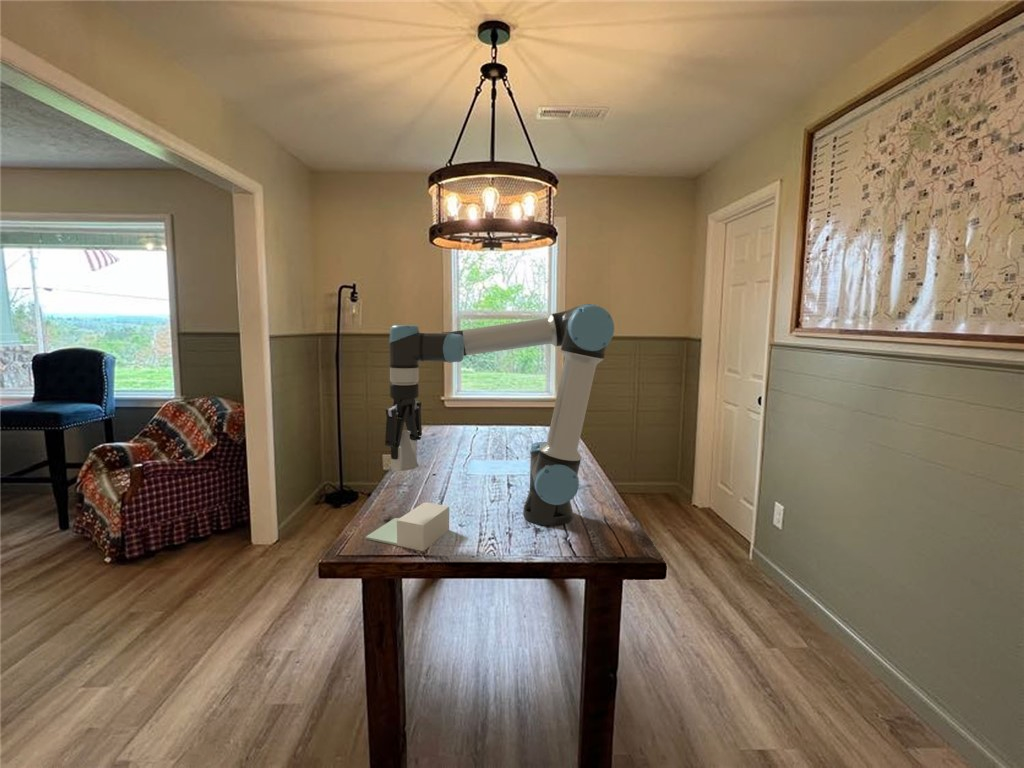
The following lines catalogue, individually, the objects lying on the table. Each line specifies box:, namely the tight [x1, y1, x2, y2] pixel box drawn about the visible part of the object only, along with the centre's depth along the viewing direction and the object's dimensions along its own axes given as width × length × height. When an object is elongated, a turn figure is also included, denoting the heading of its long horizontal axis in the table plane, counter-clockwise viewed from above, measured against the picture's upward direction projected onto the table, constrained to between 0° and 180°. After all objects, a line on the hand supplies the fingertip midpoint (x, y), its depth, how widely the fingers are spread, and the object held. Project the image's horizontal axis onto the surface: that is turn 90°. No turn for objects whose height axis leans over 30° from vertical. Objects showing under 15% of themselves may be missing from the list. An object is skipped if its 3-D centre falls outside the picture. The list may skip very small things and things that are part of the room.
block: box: [396, 501, 450, 552], centre depth 132 cm, size 8×14×7 cm, turn 159°
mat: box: [365, 517, 400, 546], centre depth 135 cm, size 10×14×1 cm
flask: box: [389, 429, 419, 472], centre depth 131 cm, size 7×7×10 cm
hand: (404, 466), depth 132 cm, fingers closed on flask, 7 cm apart
